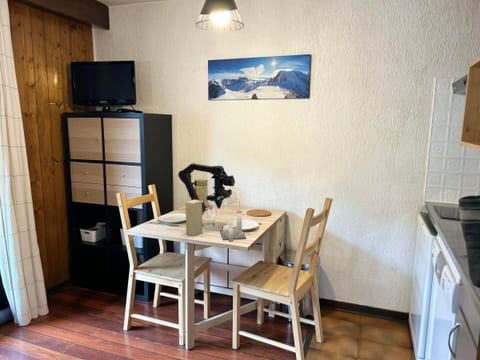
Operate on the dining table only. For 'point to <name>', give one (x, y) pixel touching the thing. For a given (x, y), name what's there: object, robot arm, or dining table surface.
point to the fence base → (228, 232)
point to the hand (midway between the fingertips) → (219, 208)
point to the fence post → (238, 223)
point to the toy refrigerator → (194, 217)
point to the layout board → (234, 236)
